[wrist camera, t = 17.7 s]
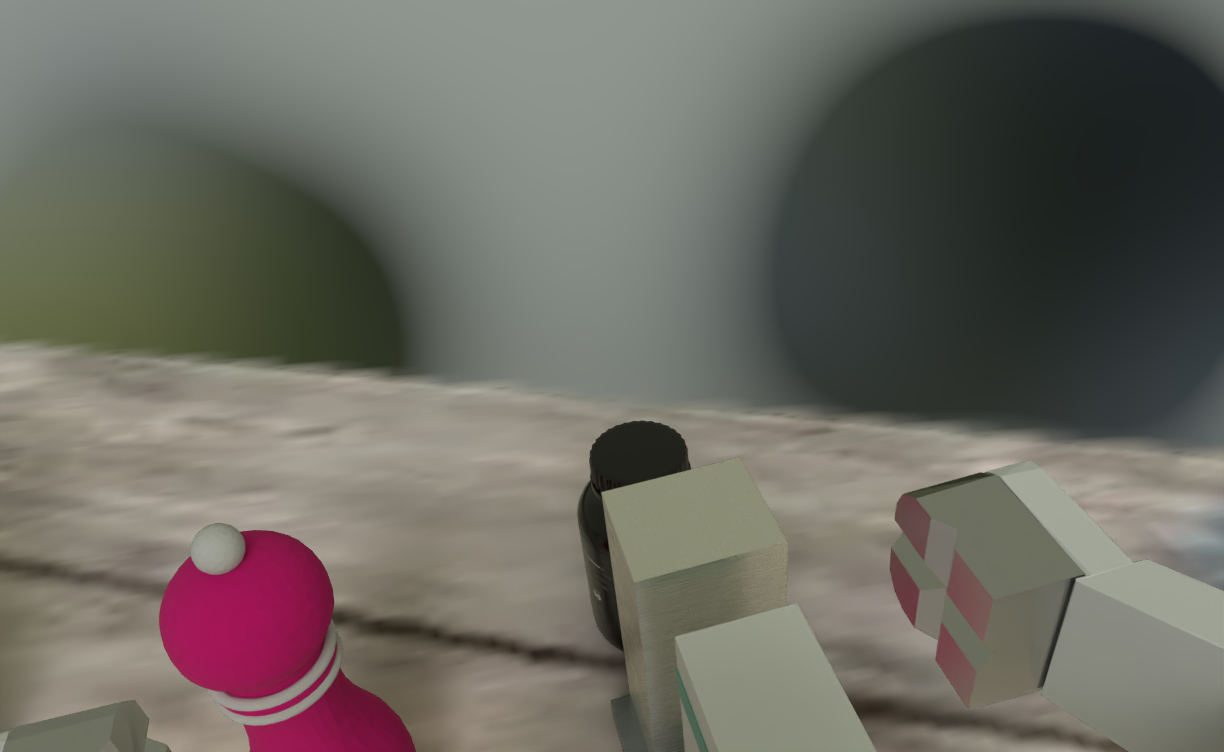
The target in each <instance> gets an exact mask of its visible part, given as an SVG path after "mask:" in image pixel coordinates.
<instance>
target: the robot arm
mask: <svg viewBox="0 0 1224 752" xmlns="http://www.w3.org/2000/svg"><path fill="white" fill-rule="evenodd" d="M895 521H896V522H897V524H898V525H899V527H900V528H901V529H902V531H903V534H902V535H901V536H900V537H899V539H898V540H897V541H896V542H895V543H894V545H893V546H892V547H891V557H890V572H891V576H892V581H893V585H894V590H895V593H896V595H897V597H898V600H899V602H900V604H901V606H902V609H903V610H904V612H905V614H906V615H907V617H908V618H909V620H910V622H911V623H912V625H913V626H914V628H916V629H918V630H920V631H922V632H923V633H925V634H927V635H929V636H931V637H933V638H935V639H937V640H938V643H937V651H936V662H937V663H938V665H939V666H940V668H941V669H942V671H943V672H944V674H945V675H946V677H947V678H948V680H949V681H950V683H951V684H952V686H953V687H954V689H955V690H956V692H957V694H958V695H959V697H960V698H961V700H962V701H963V703H964V704H965V706H966V707H967V709H968V710H972V709H975V708H979V707H983V706H986V705H990V704H994V703H997V702H1001V701H1005V700H1008V699H1012V698H1016V697H1019V696H1023V695H1027V694H1030V693H1034V692H1038V691H1041V690H1042V693H1041V695H1042V696H1044V697H1045V698H1047V699H1048V700H1050V701H1051V702H1053V703H1055V704H1056V705H1058V706H1059V707H1061V708H1062V709H1064V710H1065V711H1067V712H1068V713H1070V714H1072V715H1073V716H1075V717H1076V718H1078V719H1079V720H1081V721H1082V722H1084V723H1085V724H1087V725H1088V726H1090V727H1092V728H1093V729H1095V730H1096V731H1098V732H1099V733H1101V734H1102V735H1104V736H1105V737H1107V738H1108V739H1110V740H1112V741H1113V742H1115V743H1116V744H1118V745H1119V746H1121V747H1122V748H1124V749H1125V750H1127V751H1129V752H1224V591H1222V590H1220V589H1217V588H1215V587H1212V586H1210V585H1208V584H1205V583H1203V582H1200V581H1198V580H1196V579H1193V578H1191V577H1188V576H1186V575H1184V574H1181V573H1179V572H1176V571H1174V570H1172V569H1169V568H1167V567H1164V566H1162V565H1160V564H1157V563H1155V562H1152V561H1150V560H1148V559H1145V560H1141V561H1136V562H1133V561H1132V560H1131V559H1130V558H1129V557H1128V556H1127V555H1126V553H1125V552H1124V551H1123V550H1122V549H1121V548H1120V547H1119V546H1118V545H1117V544H1116V543H1115V542H1114V541H1113V540H1112V539H1111V538H1110V537H1109V536H1108V535H1107V534H1106V533H1105V532H1104V531H1103V530H1102V529H1101V528H1100V527H1099V526H1098V525H1097V524H1096V523H1095V522H1094V521H1093V520H1092V519H1091V517H1090V516H1089V515H1088V514H1087V513H1086V512H1085V511H1084V510H1083V509H1082V508H1081V507H1080V506H1079V505H1078V504H1077V503H1076V502H1075V501H1074V500H1073V499H1072V498H1071V497H1070V496H1069V495H1068V494H1067V493H1066V492H1065V491H1064V490H1063V489H1062V488H1061V487H1060V486H1059V485H1058V484H1057V483H1056V481H1055V480H1054V479H1053V478H1052V477H1051V476H1050V475H1049V474H1048V473H1047V472H1046V471H1045V470H1044V469H1043V468H1042V467H1041V466H1040V465H1038V464H1036V463H1033V462H1031V461H1029V460H1028V461H1024V462H1021V463H1017V464H1013V465H1009V466H1006V467H1002V468H998V469H994V470H990V471H987V472H985V473H977V474H973V475H970V476H966V477H962V478H959V479H955V480H952V481H948V482H944V483H941V484H937V485H934V486H930V487H926V488H923V489H919V490H916V491H912V492H908V493H905V494H903V495H902V496H901V498H900V499H899V501H898V502H897V505H896V513H895ZM148 724H149V718H148V717H147V716H146V714H145V713H144V712H143V710H142V709H141V708H140V706H139V705H138V704H137V703H136V701H135V700H131V701H124V702H120V703H115V704H111V705H107V706H103V707H99V708H94V709H90V710H86V711H82V712H78V713H74V714H69V715H65V716H61V717H57V718H53V719H48V720H44V721H40V722H36V723H32V724H27V725H23V726H19V727H17V728H13V729H9V730H5V731H1V732H0V752H171V750H170V749H169V747H168V746H167V745H166V744H163V743H160V742H157V741H154V740H152V739H149V738H146V736H147V730H148Z"/></svg>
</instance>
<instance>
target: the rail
mask: <svg viewBox="0 0 1224 752" xmlns="http://www.w3.org/2000/svg"><path fill="white" fill-rule="evenodd" d="M601 494H602V501H603V508H604V515H605V522H606V529H607V536H608V543H609V550H610V557H611V564H612V571H613V578H614V585H615V592H616V599H617V606H618V613H619V620H620V627H621V634H622V641H623V648H624V655H625V662H626V669H627V676H628V683H629V690H630V695H628V696H624V697H621V698H617V699H614V700H611V704H612V711H613V717H614V720H615V724H616V727H617V731H618V734H619V737H620V741H621V744H622V748H623V751H624V752H685V747H684V736H683V725H682V713H681V702H680V696H679V693H678V687H677V676H676V668H677V657H676V645H675V637H676V636H679V635H683V634H687V633H690V632H694V631H698V630H701V629H705V628H708V627H712V626H716V625H719V624H723V623H727V622H730V621H734V620H738V619H741V618H745V617H748V616H752V615H756V614H759V613H763V612H767V611H770V610H774V609H778V608H781V607H785V606H786V588H787V548H788V541H787V539H786V537H785V536H784V534H783V532H782V530H781V529H780V527H779V525H778V523H777V522H776V520H775V518H774V516H773V515H772V513H771V511H770V509H769V508H768V506H767V504H766V502H765V501H764V499H763V497H762V495H761V494H760V492H759V490H758V488H757V487H756V485H755V483H754V481H753V479H752V478H751V476H750V474H749V472H748V471H747V469H746V467H745V465H744V464H743V462H742V460H741V458H740V457H739V458H735V459H731V460H727V461H723V462H719V463H715V464H711V465H707V466H703V467H699V468H695V469H691V470H687V471H684V472H680V473H676V474H672V475H668V476H664V477H660V478H656V479H652V480H648V481H644V482H640V483H636V484H632V485H628V486H624V487H620V488H616V489H612V490H608V491H604V492H601Z"/></svg>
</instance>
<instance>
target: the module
mask: <svg viewBox="0 0 1224 752" xmlns="http://www.w3.org/2000/svg"><path fill="white" fill-rule="evenodd" d="M675 645H676V657H677V668H676V676H677V687H678V693H679V696H680V702H681V713H682V725H683V736H684V747H685V752H877V751H876V750H875V748H874V746H873V744H872V742H871V740H870V738H869V736H868V735H867V733H866V731H865V729H864V727H863V725H862V723H861V721H860V720H859V718H858V716H857V714H856V712H855V710H854V708H853V706H852V705H851V703H850V701H849V699H848V697H847V695H846V693H845V691H844V690H843V688H842V686H841V684H840V682H839V680H838V678H837V676H836V675H835V673H834V671H833V669H832V667H831V665H830V663H829V662H828V660H827V658H826V656H825V654H824V652H823V650H822V648H821V647H820V645H819V643H818V641H817V639H816V637H815V635H814V633H813V632H812V630H811V628H810V626H809V624H808V622H807V620H806V618H805V617H804V615H803V613H802V611H801V609H800V607H799V605H798V603H796V604H792V605H788V606H785V607H781V608H778V609H774V610H770V611H767V612H763V613H759V614H756V615H752V616H748V617H745V618H741V619H738V620H734V621H730V622H727V623H723V624H719V625H716V626H712V627H708V628H705V629H701V630H698V631H694V632H690V633H687V634H683V635H679V636H676V637H675Z"/></svg>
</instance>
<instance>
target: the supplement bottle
mask: <svg viewBox="0 0 1224 752" xmlns="http://www.w3.org/2000/svg"><path fill="white" fill-rule="evenodd" d="M589 463H590V470H591V475H590V478H591V480H590V481H589V482H588V484H587V485H586V487H585V488H584V490H583V492H582V494H581V497H580V500H579V503H578V523H579V530H580V536H581V542H582V548H583V554H584V560H585V566H586V572H587V578H588V584H589V590H590V596H591V602H592V607H593V612H594V617H595V620H596V623H597V626H598V628H599V630H600V631H601V633H602V634H603V636H604V637H605V638H606V639H607V640H608V641H609V642H610V643H611V644H612V645H614V646H615V647H617V648H618V649H620V650H622V651H624V648H623V641H622V634H621V627H620V620H619V613H618V606H617V599H616V592H615V585H614V578H613V571H612V564H611V557H610V550H609V543H608V536H607V529H606V522H605V515H604V508H603V501H602V494H601V492H604V491H608V490H612V489H616V488H620V487H624V486H628V485H632V484H636V483H640V482H644V481H648V480H652V479H656V478H660V477H664V476H668V475H672V474H676V473H680V472H684V471H687V470H691V467H690V463H689V460H688V449H687V446H686V444H685V440H684V439H683V438H682V437H681V435H680V434H679V433H677V432H676V431H675V430H674V429H671V428H670V427H669V426H666V425H663V424H661V423H655V422H652V421H648V422H647V421H632V422H630V423H623V424H621V425H616V426H615V427H613V428H611V429H608V430H607V431H606V432H605V433H602V434H601V436H600V437H599V438H597V439H596V442H595V443H594V444H593V445H592V450H591V451H590V458H589Z"/></svg>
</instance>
